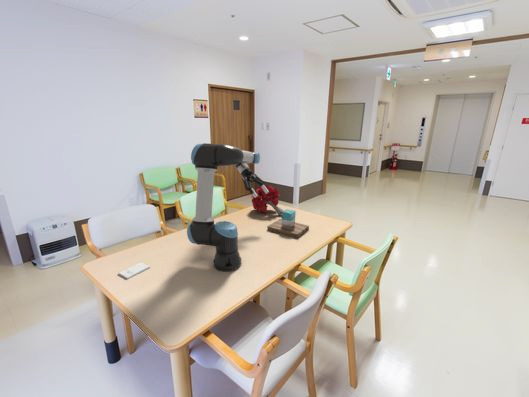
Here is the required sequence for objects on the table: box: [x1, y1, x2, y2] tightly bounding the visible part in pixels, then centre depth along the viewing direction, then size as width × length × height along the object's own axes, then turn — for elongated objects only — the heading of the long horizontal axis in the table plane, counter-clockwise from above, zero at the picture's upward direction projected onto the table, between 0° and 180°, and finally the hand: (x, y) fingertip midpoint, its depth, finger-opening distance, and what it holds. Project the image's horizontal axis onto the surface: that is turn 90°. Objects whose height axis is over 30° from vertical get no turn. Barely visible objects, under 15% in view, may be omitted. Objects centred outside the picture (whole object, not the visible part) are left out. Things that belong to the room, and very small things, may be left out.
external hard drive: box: [117, 261, 151, 280], centre depth 137 cm, size 2×8×12 cm
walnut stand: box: [267, 218, 310, 239], centre depth 189 cm, size 18×24×3 cm
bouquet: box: [251, 184, 284, 216], centre depth 221 cm, size 22×24×30 cm
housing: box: [281, 208, 296, 229], centre depth 187 cm, size 7×7×11 cm
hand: (262, 194), depth 182 cm, fingers open, 13 cm apart
